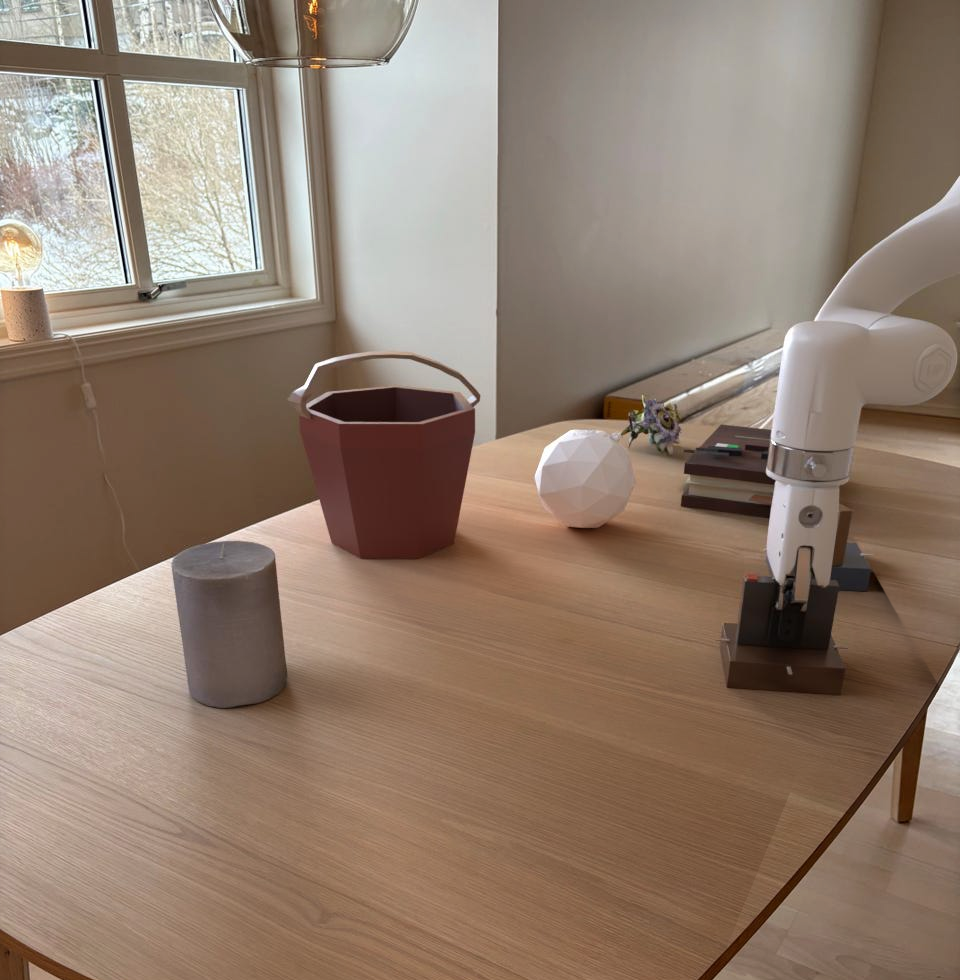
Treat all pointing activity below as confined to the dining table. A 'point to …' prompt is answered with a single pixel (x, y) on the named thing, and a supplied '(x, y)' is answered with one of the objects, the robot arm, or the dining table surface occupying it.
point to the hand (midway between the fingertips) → (781, 635)
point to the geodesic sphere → (585, 478)
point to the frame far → (841, 534)
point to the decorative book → (731, 472)
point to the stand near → (780, 666)
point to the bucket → (388, 460)
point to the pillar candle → (230, 622)
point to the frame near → (763, 596)
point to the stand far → (848, 570)
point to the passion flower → (656, 425)
